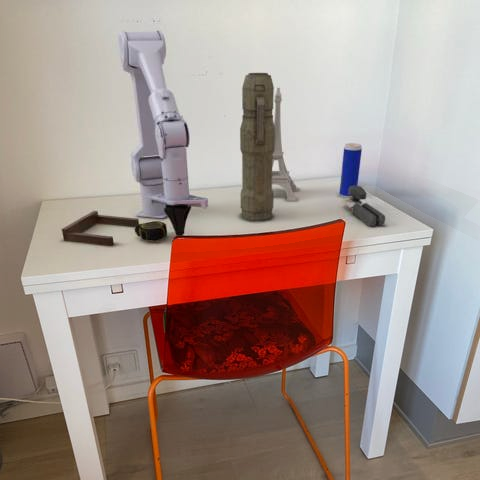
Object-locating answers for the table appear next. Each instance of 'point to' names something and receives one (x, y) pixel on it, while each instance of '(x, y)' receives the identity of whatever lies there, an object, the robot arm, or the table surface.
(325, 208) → the table surface
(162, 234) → the tape measure
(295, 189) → the eiffel tower
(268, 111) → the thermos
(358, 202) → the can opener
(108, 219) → the walnut frame
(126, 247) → the table surface
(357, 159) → the beverage can
